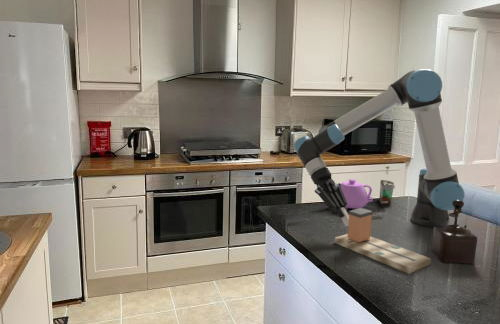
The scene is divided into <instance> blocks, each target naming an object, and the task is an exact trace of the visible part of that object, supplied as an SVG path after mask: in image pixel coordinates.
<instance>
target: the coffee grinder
mask: <svg viewBox="0 0 500 324" xmlns="http://www.w3.org/2000/svg"><path fill="white" fill-rule="evenodd" d="M464 202H465V201H464V200H463V201H461V200H455V201H453V203H452V205H453V206H454V208H455V209H453V212H450V213H449V212H448V215H449V217H451V218H454V223H453V224H449V225H448V226H434V227H433V230H432V231H433V232H432V243H431V252H432V254H433V255H434V256H435V257H436V258H437V259H438V260H440V262H441V263H443V264H456V265H459V264H460V265H475V260H476V252H477V245H478V236H476V235H475V234H474V233H472V231H471V230H470V229H469V228H467V225H464V226H462V225H460V224H458V218H459V217H460V215H459V214H463V211H462V209H463V207H465V203H464Z"/></svg>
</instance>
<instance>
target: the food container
mask: <svg viewBox="0 0 500 324" xmlns="http://www.w3.org/2000/svg"><path fill="white" fill-rule="evenodd" d="M379 187H380V188H379V202H380V204H381V205H391V204H392V199H393V192H394V189H396V188H395V183H394V182H393V181H391V180H385V179H380V186H379Z"/></svg>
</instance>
